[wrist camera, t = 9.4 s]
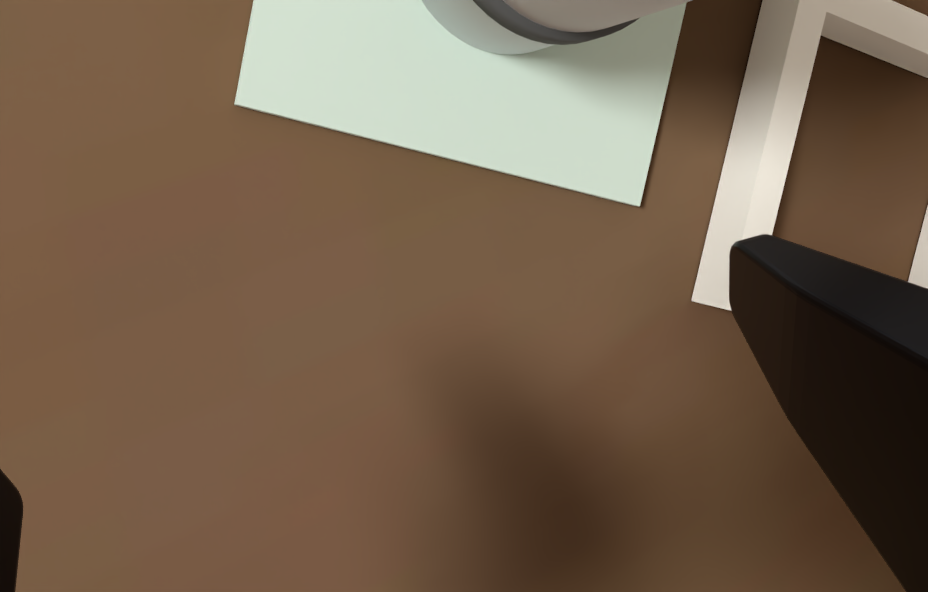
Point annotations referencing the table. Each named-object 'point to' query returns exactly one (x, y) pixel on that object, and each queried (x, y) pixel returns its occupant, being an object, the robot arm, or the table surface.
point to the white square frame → (794, 116)
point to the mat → (467, 90)
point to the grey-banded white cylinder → (538, 21)
